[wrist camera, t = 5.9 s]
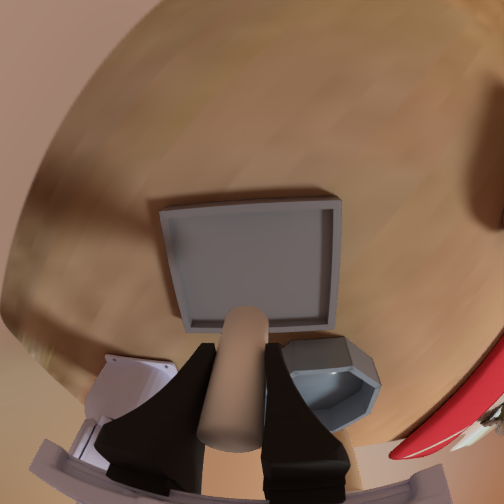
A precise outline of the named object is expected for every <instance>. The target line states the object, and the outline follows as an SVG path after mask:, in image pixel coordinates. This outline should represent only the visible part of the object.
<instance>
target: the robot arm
mask: <svg viewBox="0 0 504 504" xmlns="http://www.w3.org/2000/svg"><path fill="white" fill-rule="evenodd" d="M215 356H216V350H215V345H214V343H201V344H200V346H199V347H198V348H197V350H196V351H195V352H194V354H193V355H192V356H191V357H190V359H189V360H188V361H187V362H186V363H185V365H184V366H183V367H182V368H181V369H180V371H179V372H178V371H177V369H176V366H175V364H174V363H172V362H165V361H155V360H146V359H138V358H130V357H123V356H116V355H110V354H106V355H105V359H106V361H107V363H106V364H105V366H104V367H103V369H102V371H101V372H100V374H99V375H98V377H97V379H96V380H95V382H94V384H93V385H92V387H91V389H90V390H89V392H88V394H87V396H86V400H85V414H86V418H87V419H85V421H84V423H83V425H82V426H81V428H80V430H79V432H78V434H77V436H76V438H75V440H74V442H73V444H72V446H71V448H70V450H69V452H68V453H67V452H66V451H65V450H64V449H63V448H62V447H60V446H59V445H57V444H55V443H53V442H51V441H49V440H47V439H44V441H43V443H42V445H41V447H40V448H39V450H38V452H37V454H36V456H35V458H34V459H33V462H32V463H31V465H30V467H29V470H30V471H31V472H32V473H33V474H35V475H36V476H38V477H39V478H40V479H42V480H43V481H45V482H46V483H48V484H49V485H50V486H52V487H53V488H55V489H56V490H58V491H60V492H62V493H63V494H65V495H67V496H69V497H70V498H72V499H74V500H76V501H77V503H76V504H453V502H452V498H451V494H450V490H449V487H448V483H447V479H446V476H445V472H444V469H443V466H442V464H438V465H435V466H432V467H430V468H427V469H424V470H421V471H419V472H417V473H415V474H413V475H412V476H411V477H410V479H408V480H404V481H401V482H398V483H394V484H390V485H386V486H383V487H378V488H374V489H369V490H365V491H360V492H354V493H349V494H346V493H345V485H346V478H345V475H346V474H347V472H348V471H349V469H350V467H351V463H350V459H349V456H348V454H347V452H346V449H345V448H344V446H343V444H342V442H341V441H339V440H338V439H337V438H336V437H335V436H334V435H333V434H332V433H331V432H330V431H329V430H328V429H327V428H326V427H325V426H324V425H323V424H322V423H321V422H320V420H319V419H318V418H317V417H316V416H315V414H314V413H313V412H312V411H311V409H310V408H309V406H308V405H307V404H306V402H305V401H304V399H303V398H302V396H301V394H300V393H299V391H298V389H297V387H296V386H295V384H294V382H293V380H292V378H291V376H290V373H289V371H288V369H287V366H286V364H285V361H284V358H283V354H282V350H281V344H279V343H266V344H265V368H266V381H267V400H266V413H265V424H264V434H263V443H262V452H261V463H262V469H263V475H264V480H263V491H264V494H265V499H266V500H249V499H233V498H222V497H213V496H205V495H201V484H202V470H203V459H204V451H205V444H204V443H202V442H201V441H200V440H199V439H198V438H197V435H196V433H197V429H198V425H199V420H200V416H201V412H202V408H203V404H204V400H205V396H206V392H207V388H208V384H209V380H210V376H211V372H212V368H213V364H214V360H215ZM166 365H167V366H166Z"/></svg>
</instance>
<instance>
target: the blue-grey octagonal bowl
mask: <svg viewBox="0 0 504 504" xmlns="http://www.w3.org/2000/svg"><path fill="white" fill-rule="evenodd" d="M281 350H282V354H283V358H284V361H285V364H286V366H287V369H288V371H289V373H290V376H291V378H292V380H293V382H294V384H295V386H296V387H297V389H298V391H299V393H300V394H301V396H302V398H303V399H304V401H305V402H306V404H307V405H308V406H309V408H310V409H311V411H312V412H313V413H314V414H315V416H316V417H317V418H318V419H319V420H320V422H321V423H322V424H323V425H324V426H325V427H326V428H327V429H328V430H329V431H330V432H331V433H335V432H337V431H339V430H341V429H343V428H345V427H347V426H349V425H350V424H352V423H354V422H356V421H358V420H360V419H361V418H363V417H365V416H367V415H368V414H370V413H371V410H372V408H373V406H374V403H375V401H376V398H377V396H378V393H379V391H380V388H381V386H382V385H381V382H380V379H379V376H378V373H377V370H376V368H375V365H374V362H373V359H372V358H371V357H369V356H368V355H367V354H366V353H364V352H363V351H362V350H361V349H359V348H358V347H357V346H355V345H354V344H353V343H352V342H350V341H349V340H348V339H346V338H345V337H337V338H325V339H310V340H292V341H291V342H290V343H288V344H287V345H286V346H285V347H283V348H282V349H281ZM266 400H267V381H266V399H265V413H266ZM264 424H265V418H264Z"/></svg>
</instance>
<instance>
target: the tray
mask: <svg viewBox="0 0 504 504" xmlns="http://www.w3.org/2000/svg"><path fill="white" fill-rule="evenodd" d="M159 216H160V222H161V227H162V233H163V238H164V243H165V248H166V253H167V258H168V263H169V267H170V272H171V276H172V281H173V285H174V289H175V293H176V297H177V301H178V305H179V309H180V313H181V317H182V321H183V325H184V328H185V332H186V333H222V329H223V325H224V321H225V317H226V315H227V313H228V312H229V311H230V310H231V309H233V308H235V307H238V306H244V305H245V306H253V307H256V308H258V309H260V310H261V311H262V312H263V313H264V314H265V315H266V316H267V318H268V322H269V329H268V333H280V332H301V331H318V330H331V329H334V326H335V317H336V307H337V296H338V284H339V270H340V252H341V226H342V200H341V199H340V198H339V197H338V196H305V197H281V198H262V199H246V200H232V201H219V202H207V203H195V204H185V205H175V206H166V207H165V208H163V209H162V210H160V211H159Z"/></svg>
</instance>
